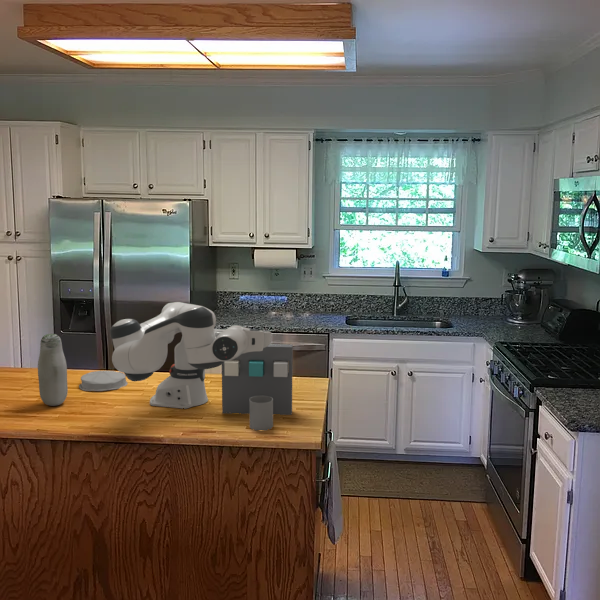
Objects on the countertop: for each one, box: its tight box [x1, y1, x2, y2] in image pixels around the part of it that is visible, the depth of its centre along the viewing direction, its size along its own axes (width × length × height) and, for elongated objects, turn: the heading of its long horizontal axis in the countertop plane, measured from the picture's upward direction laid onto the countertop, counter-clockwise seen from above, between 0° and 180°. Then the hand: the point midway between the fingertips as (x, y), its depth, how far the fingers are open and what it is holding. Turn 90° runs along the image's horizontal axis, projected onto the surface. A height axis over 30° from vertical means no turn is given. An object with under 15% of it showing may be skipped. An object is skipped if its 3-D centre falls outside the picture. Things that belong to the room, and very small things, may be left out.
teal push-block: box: [249, 360, 264, 377], centre depth 236 cm, size 5×6×5 cm
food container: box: [78, 370, 128, 392], centre depth 271 cm, size 20×20×7 cm
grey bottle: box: [37, 333, 69, 407], centre depth 244 cm, size 10×10×28 cm
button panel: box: [221, 343, 294, 416], centre depth 238 cm, size 26×4×26 cm, turn 88°
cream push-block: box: [224, 360, 240, 376], centre depth 236 cm, size 5×6×5 cm
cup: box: [249, 396, 274, 431], centre depth 226 cm, size 8×8×10 cm
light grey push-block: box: [274, 361, 289, 377], centre depth 235 cm, size 5×6×5 cm
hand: (243, 333), depth 212 cm, fingers open, 8 cm apart
